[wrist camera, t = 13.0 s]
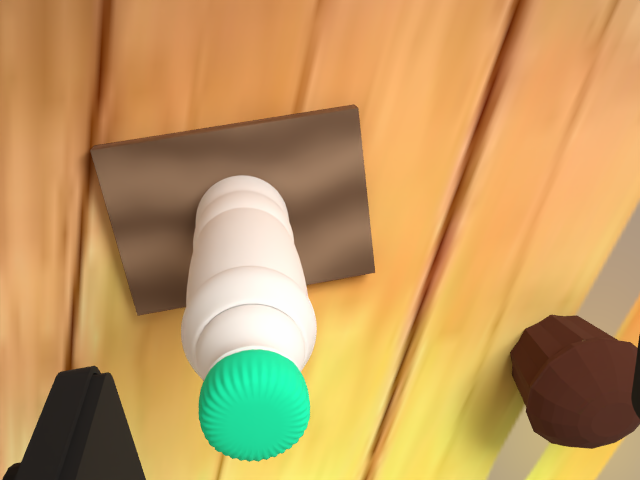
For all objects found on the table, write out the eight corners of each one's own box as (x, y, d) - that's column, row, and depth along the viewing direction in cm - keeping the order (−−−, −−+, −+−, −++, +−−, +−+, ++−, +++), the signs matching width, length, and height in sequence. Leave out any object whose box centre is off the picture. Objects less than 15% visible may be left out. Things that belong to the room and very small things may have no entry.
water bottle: (285, 170, 47) (340, 344, 24) (288, 253, 50) (340, 481, 27) (192, 175, 46) (158, 360, 23) (200, 259, 49) (177, 500, 26)
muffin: (499, 412, 61) (547, 487, 52) (490, 320, 57) (541, 384, 48) (611, 383, 62) (677, 452, 53) (610, 289, 57) (683, 347, 48)
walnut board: (94, 145, 46) (90, 150, 44) (354, 104, 47) (358, 107, 46) (139, 306, 51) (137, 315, 50) (371, 265, 53) (375, 272, 51)
